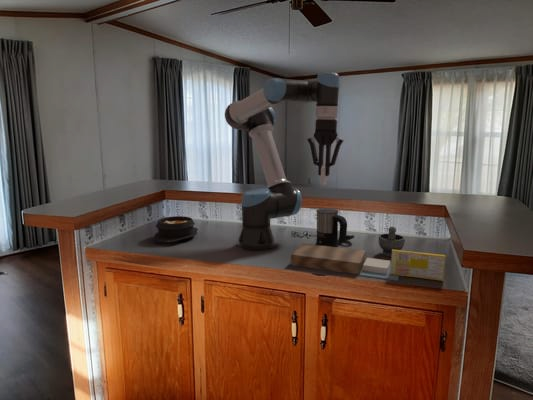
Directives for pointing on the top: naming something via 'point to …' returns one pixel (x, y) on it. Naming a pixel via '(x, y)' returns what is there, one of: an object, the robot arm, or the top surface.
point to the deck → (329, 258)
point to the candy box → (417, 264)
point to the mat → (380, 275)
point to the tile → (376, 265)
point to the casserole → (174, 229)
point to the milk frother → (331, 228)
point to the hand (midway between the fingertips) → (323, 184)
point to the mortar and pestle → (391, 241)
